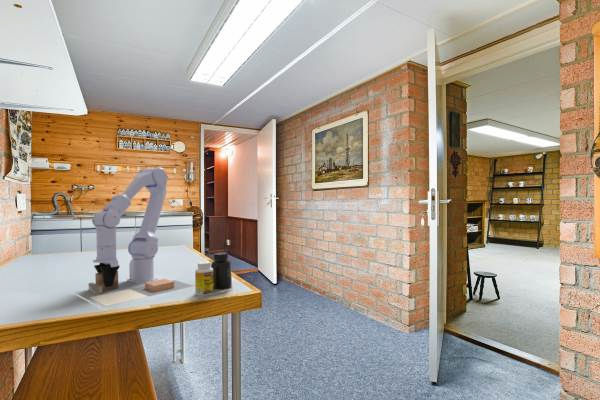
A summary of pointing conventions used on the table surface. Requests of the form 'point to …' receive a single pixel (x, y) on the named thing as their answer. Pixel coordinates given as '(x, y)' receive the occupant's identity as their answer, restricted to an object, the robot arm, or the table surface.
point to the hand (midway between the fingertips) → (107, 285)
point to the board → (134, 294)
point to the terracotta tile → (159, 285)
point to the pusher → (102, 284)
